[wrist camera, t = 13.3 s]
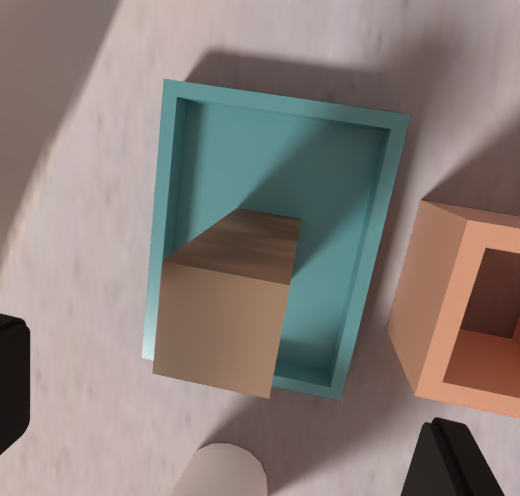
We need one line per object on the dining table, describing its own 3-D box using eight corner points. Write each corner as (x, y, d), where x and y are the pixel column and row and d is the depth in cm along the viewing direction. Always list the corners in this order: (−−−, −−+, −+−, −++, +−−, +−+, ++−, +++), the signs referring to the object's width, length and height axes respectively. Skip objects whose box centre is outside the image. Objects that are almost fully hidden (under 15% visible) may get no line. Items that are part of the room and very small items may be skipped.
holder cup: (572, 224, 21) (692, 257, 15) (522, 355, 24) (607, 437, 17) (420, 199, 22) (468, 219, 15) (386, 329, 24) (414, 395, 18)
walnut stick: (301, 218, 23) (289, 285, 11) (290, 280, 24) (268, 399, 12) (237, 207, 23) (161, 261, 12) (228, 268, 24) (152, 373, 13)
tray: (400, 119, 21) (411, 114, 19) (338, 378, 26) (340, 401, 23) (179, 86, 22) (163, 78, 20) (157, 339, 27) (141, 357, 24)
